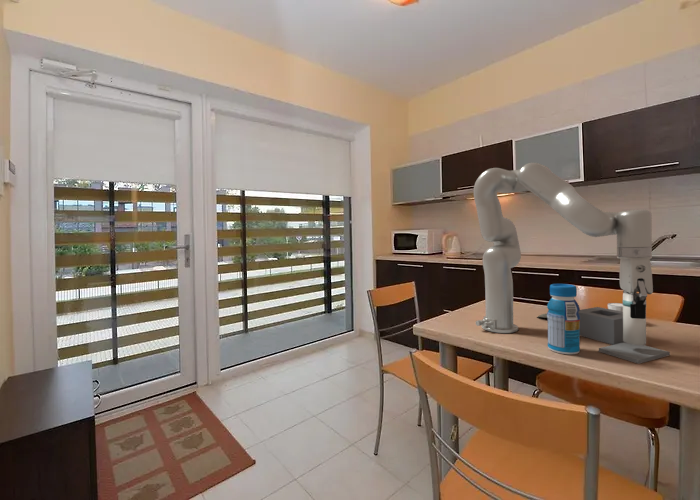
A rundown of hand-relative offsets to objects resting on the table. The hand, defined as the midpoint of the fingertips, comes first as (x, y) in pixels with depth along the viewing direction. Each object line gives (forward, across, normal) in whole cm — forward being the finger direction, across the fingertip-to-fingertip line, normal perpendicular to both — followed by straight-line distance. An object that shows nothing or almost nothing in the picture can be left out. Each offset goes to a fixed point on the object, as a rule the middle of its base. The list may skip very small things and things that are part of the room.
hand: (634, 315), depth 92 cm
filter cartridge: (+8, 0, 0) cm, 8 cm away
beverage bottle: (+11, -4, +18) cm, 22 cm away
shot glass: (+12, +36, -6) cm, 38 cm away
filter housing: (+11, +16, +3) cm, 19 cm away
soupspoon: (+12, +28, +15) cm, 34 cm away
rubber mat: (+11, 0, 0) cm, 11 cm away
